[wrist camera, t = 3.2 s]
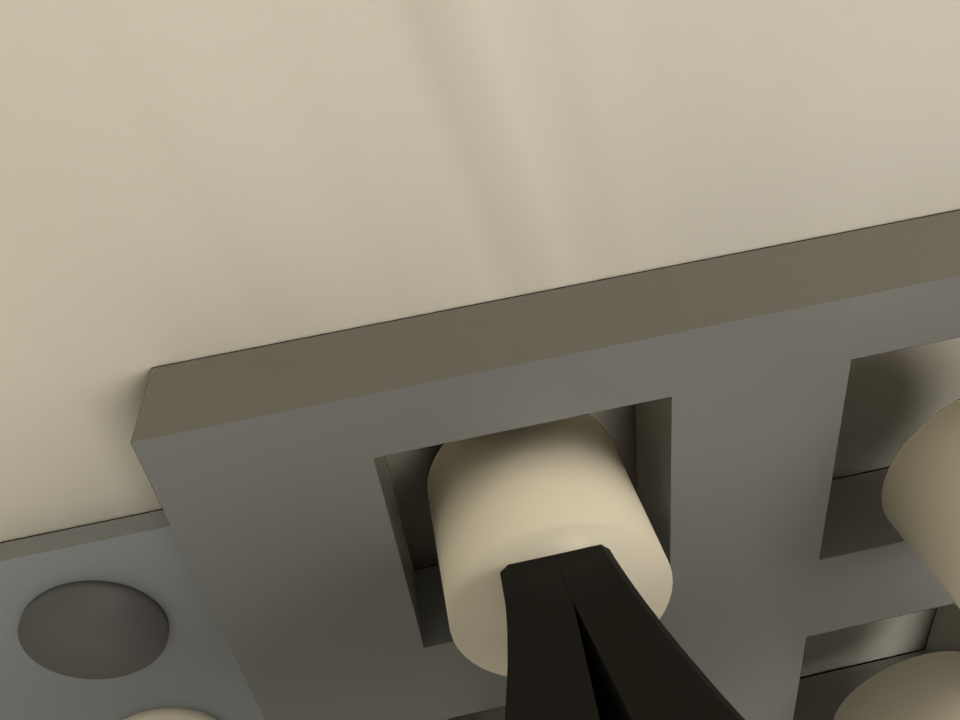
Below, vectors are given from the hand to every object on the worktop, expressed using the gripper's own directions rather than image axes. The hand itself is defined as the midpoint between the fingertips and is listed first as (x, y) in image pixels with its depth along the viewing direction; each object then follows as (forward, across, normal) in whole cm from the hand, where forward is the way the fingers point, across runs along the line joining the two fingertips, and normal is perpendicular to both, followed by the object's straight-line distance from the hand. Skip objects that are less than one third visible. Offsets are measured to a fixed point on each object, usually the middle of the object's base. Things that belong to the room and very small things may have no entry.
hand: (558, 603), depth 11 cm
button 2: (+2, 0, 0) cm, 2 cm away
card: (+3, +9, +3) cm, 10 cm away
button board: (+3, -3, +3) cm, 5 cm away
